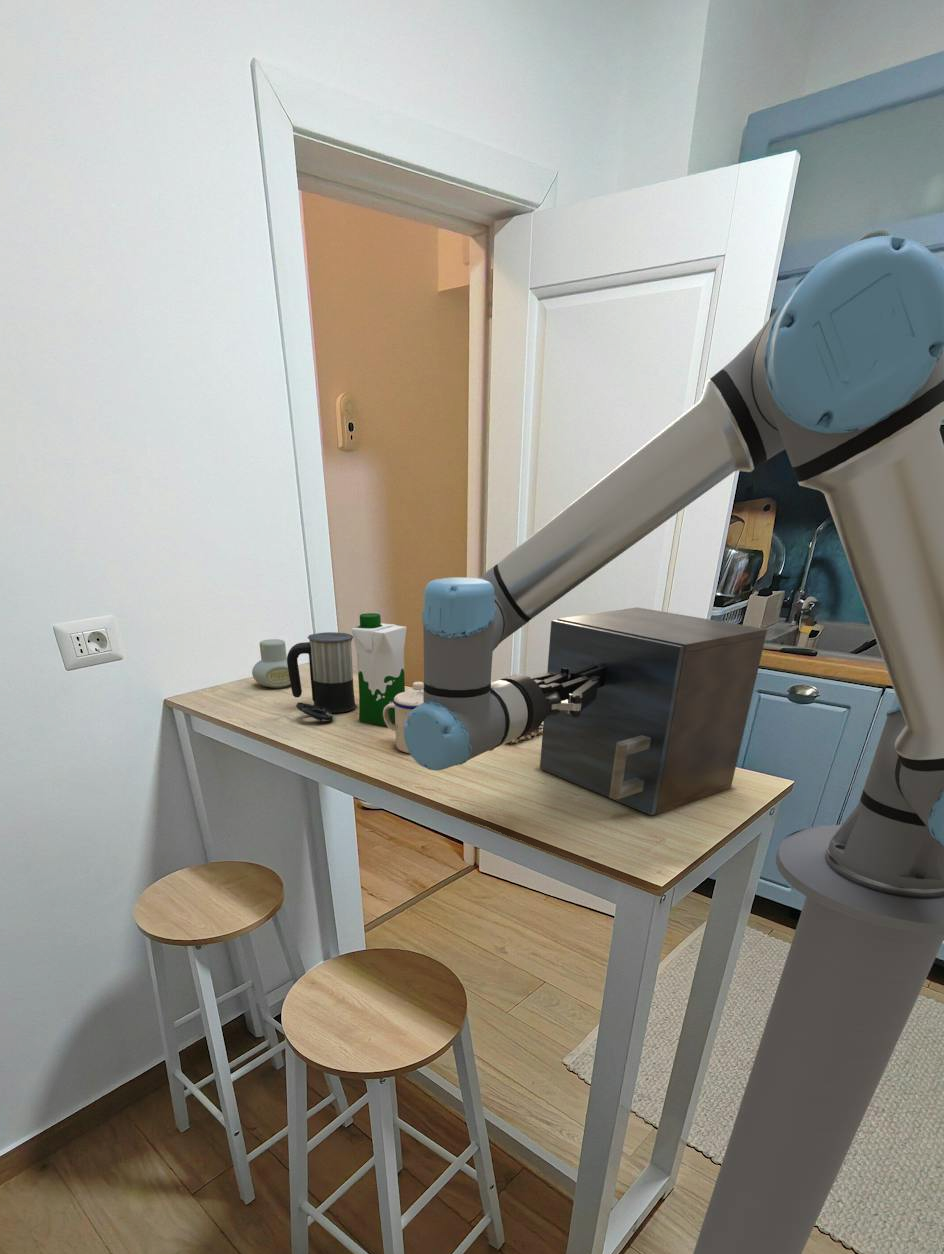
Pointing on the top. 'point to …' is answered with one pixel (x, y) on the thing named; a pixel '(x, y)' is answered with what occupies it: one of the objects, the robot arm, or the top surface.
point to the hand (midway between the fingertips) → (598, 675)
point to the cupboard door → (614, 714)
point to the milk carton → (378, 666)
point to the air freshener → (272, 664)
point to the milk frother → (325, 674)
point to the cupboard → (697, 695)
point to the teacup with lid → (403, 711)
